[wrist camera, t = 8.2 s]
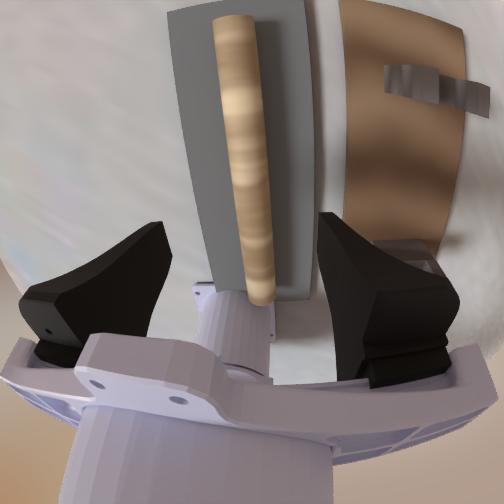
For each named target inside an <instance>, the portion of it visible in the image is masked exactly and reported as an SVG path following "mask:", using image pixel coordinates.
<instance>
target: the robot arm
mask: <svg viewBox="0 0 504 504" xmlns="http://www.w3.org/2000/svg"><path fill="white" fill-rule="evenodd" d="M317 254H318V261H319V268H320V272H321V276H322V280H323V283H324V287H325V291H326V294H327V298H328V302H329V306H330V311H331V316H332V324H333V332H334V342H335V353H336V369H337V382H327V383H314V384H296V385H273V378H270V377H269V362H270V343H273V342H275V341H276V330H275V309H274V301H273V302H272V303H271V304H269V305H265V306H257V305H254V304H252V303H251V302H250V301H249V299H248V293H247V292H243V291H238V290H227V291H221V292H217V293H216V289H215V285H214V283H213V284H194V285H193V287H192V291H193V294H194V297H195V300H196V303H197V306H198V309H199V312H200V318H199V322H198V326H197V330H196V334H195V338H194V342H193V343H191V342H186V341H181V340H174V339H160V338H148V337H146V336H147V331H148V327H149V323H150V319H151V315H152V313H153V310H154V307H155V305H156V302H157V300H158V297H159V295H160V292H161V290H162V287H163V285H164V283H165V280H166V278H167V275H168V272H169V269H170V265H171V261H172V257H173V256H172V253H171V249H170V246H169V243H168V239H167V236H166V233H165V229H164V226H163V222H162V221H159V222H150V223H148V224H146V225H145V226H143V227H141V228H140V229H138V230H137V231H135V232H134V233H133V234H131V235H130V236H128V237H127V238H125V239H124V240H123V241H121V242H120V243H118V244H117V245H115V246H114V247H112V248H111V249H109V250H108V251H107V252H105V253H103V254H102V255H100V256H99V257H97V258H95V259H94V260H92V261H90V262H88V263H87V264H85V265H83V266H81V267H79V268H77V269H75V270H73V271H71V272H69V273H66V274H64V275H62V276H59V277H57V278H54V279H51V280H49V281H45V282H42V283H39V284H36V285H33V286H31V287H29V288H28V290H27V291H26V292H25V294H24V295H23V297H22V298H21V299H20V301H19V309H20V312H21V314H22V316H23V318H24V319H25V321H26V322H27V323H28V325H29V326H30V327H31V329H32V330H33V331H34V332H35V334H36V335H37V336H38V337H39V339H40V340H39V342H38V344H36V343H35V342H34V341H32V340H29V339H26V338H22V337H20V338H19V340H18V341H17V343H16V345H15V347H14V348H13V350H12V352H11V354H10V356H9V358H8V359H7V361H6V363H5V365H4V367H3V369H2V371H1V373H0V378H1V379H2V380H3V381H4V382H5V383H6V384H7V385H9V386H10V387H11V388H12V389H13V390H14V391H15V392H17V393H18V394H19V395H20V396H21V397H22V398H24V399H25V400H26V401H27V402H29V403H30V404H31V405H33V406H34V407H36V408H38V409H40V410H42V411H44V412H46V413H48V414H49V415H51V416H53V417H55V418H57V419H59V420H61V421H63V422H65V423H67V424H69V425H71V426H73V427H75V428H77V433H76V435H75V439H74V442H73V445H72V449H71V452H70V456H69V459H68V463H67V467H66V470H65V475H64V479H63V483H62V487H61V491H60V496H59V501H58V504H333V467H332V466H335V465H341V464H347V463H352V462H357V461H361V460H366V459H370V458H374V457H378V456H382V455H386V454H389V453H393V452H396V451H399V450H403V449H406V448H409V447H412V446H415V445H418V444H421V443H423V442H427V441H429V440H432V439H435V438H437V437H440V436H443V435H445V434H448V433H450V432H453V431H455V430H458V429H460V428H462V427H464V426H465V425H467V424H468V423H470V422H471V421H472V420H473V419H475V418H476V417H477V416H479V415H480V414H481V413H483V412H484V411H485V410H487V409H488V408H489V407H490V406H491V405H493V404H494V403H495V402H496V401H497V400H498V395H497V392H496V389H495V386H494V383H493V381H492V378H491V375H490V373H489V370H488V368H487V365H486V363H485V360H484V358H483V355H482V353H481V351H480V349H479V346H478V344H472V345H468V346H465V347H461V348H457V349H455V350H453V351H451V352H450V353H449V354H448V352H447V349H446V347H445V346H447V345H448V339H447V337H446V332H447V331H448V329H449V327H450V326H451V324H452V322H453V320H454V319H455V317H456V315H457V312H458V310H459V306H460V299H459V296H458V294H457V292H456V291H455V289H454V287H453V286H452V284H451V282H450V281H449V279H448V278H446V277H443V276H440V275H436V274H433V273H430V272H427V271H424V270H422V269H419V268H416V267H414V266H412V265H409V264H407V263H405V262H403V261H401V260H399V259H397V258H395V257H393V256H391V255H389V254H387V253H386V252H384V251H382V250H381V249H379V248H378V247H376V246H374V245H373V244H371V243H370V242H369V241H367V240H366V239H365V238H363V237H362V236H361V235H359V234H358V233H357V232H356V231H354V230H353V229H352V228H351V227H349V226H348V225H347V224H346V223H345V222H344V221H342V220H341V219H340V218H339V217H338V216H337V215H335V214H334V213H333V212H319V222H318V243H317ZM199 292H200V293H199Z"/></svg>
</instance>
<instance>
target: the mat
mask: <svg viewBox="0 0 504 504" xmlns="http://www.w3.org/2000/svg"><path fill="white" fill-rule="evenodd" d="M229 15H250V16H253V17H254V22H255V31H256V40H257V49H258V59H259V68H260V78H261V89H262V99H263V110H264V122H265V134H266V146H267V158H268V172H269V185H270V200H271V215H272V230H273V247H274V265H275V284H276V298H275V300H274V301H286V300H309V299H310V286H311V270H312V251H313V225H314V123H313V99H312V81H311V66H310V54H309V43H308V33H307V23H306V15H305V7H304V0H223V1H217V2H211V3H205V4H200V5H195V6H191V7H186V8H182V9H178V10H174V11H170V12H167V18H168V28H169V37H170V46H171V54H172V62H173V70H174V77H175V84H176V91H177V98H178V105H179V111H180V117H181V123H182V129H183V135H184V141H185V147H186V152H187V158H188V163H189V169H190V174H191V179H192V185H193V190H194V195H195V200H196V204H197V209H198V214H199V219H200V224H201V228H202V233H203V237H204V242H205V246H206V251H207V255H208V260H209V264H210V268H211V272H212V277H213V281H214V285H215V289H216V293H217V292H221V291H227V290H238V291H243V292H247V285H246V279H245V272H244V265H243V258H242V250H241V243H240V236H239V229H238V222H237V215H236V207H235V200H234V192H233V185H232V178H231V170H230V162H229V155H228V147H227V139H226V132H225V124H224V116H223V108H222V100H221V92H220V84H219V76H218V67H217V59H216V50H215V42H214V33H213V24H212V21H213V20H215V19H217V18H220V17H224V16H229ZM247 293H248V292H247Z"/></svg>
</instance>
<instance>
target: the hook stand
mask: <svg viewBox="0 0 504 504" xmlns="http://www.w3.org/2000/svg"><path fill="white" fill-rule="evenodd" d="M339 8H340V16H341V24H342V34H343V45H344V58H345V75H346V104H347V142H346V173H345V191H344V205H343V218H342V221H344V222H345V223H346V224H347V225H348V226H349V227H351V228H352V229H353V230H354V231H356V232H357V233H358V234H359V235H361V236H362V237H363V238H365V239H366V240H367V241H369V242H370V243H371V244H373V245H374V246H376V247H378V248H379V249H381V250H382V251H384V252H386V253H387V254H389V255H391V256H393V257H395V258H397V259H399V260H401V261H403V262H405V263H407V264H409V265H412V266H414V267H416V268H419V269H422V270H424V271H427V272H430V273H433V274H436V275H440V276H443V277H446V275H445V274H444V272H443V271H442V269H441V267H440V266H439V264H438V263H437V261H436V260H435V258H436V255H437V252H438V249H439V245H440V242H441V239H442V236H443V232H444V229H445V225H446V222H447V218H448V214H449V210H450V206H451V202H452V198H453V193H454V188H455V183H456V178H457V173H458V167H459V161H460V154H461V147H462V138H463V129H464V116H465V111H468V112H471V113H474V114H476V115H479V116H482V117H485V118H488V119H489V108H490V87H488V86H486V85H483V84H481V83H478V82H473V81H467V80H466V74H465V53H464V41H463V32H462V29H461V28H458V27H456V26H453V25H451V24H448V23H446V22H443V21H441V20H438V19H435V18H432V17H429V16H426V15H423V14H420V13H417V12H413V11H410V10H406V9H403V8H399V7H395V6H391V5H386V4H382V3H377V2H372V1H366V0H339ZM446 278H447V277H446Z"/></svg>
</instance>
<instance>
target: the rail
mask: <svg viewBox="0 0 504 504" xmlns="http://www.w3.org/2000/svg"><path fill="white" fill-rule="evenodd" d="M212 24H213V33H214V42H215V50H216V59H217V67H218V76H219V84H220V92H221V100H222V108H223V116H224V124H225V132H226V139H227V147H228V155H229V162H230V170H231V178H232V185H233V192H234V200H235V207H236V215H237V222H238V229H239V236H240V243H241V250H242V258H243V265H244V272H245V279H246V285H247V292H248V299H249V301H250V302H251V303H252V304H254V305H257V306H265V305H269V304H271V303H272V302H273V301H274V300H275V298H276V284H275V265H274V247H273V230H272V215H271V200H270V185H269V172H268V158H267V146H266V134H265V122H264V110H263V99H262V89H261V78H260V68H259V59H258V49H257V40H256V31H255V22H254V17H253V16H250V15H229V16H224V17H220V18H217V19H215V20H213V21H212Z"/></svg>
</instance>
